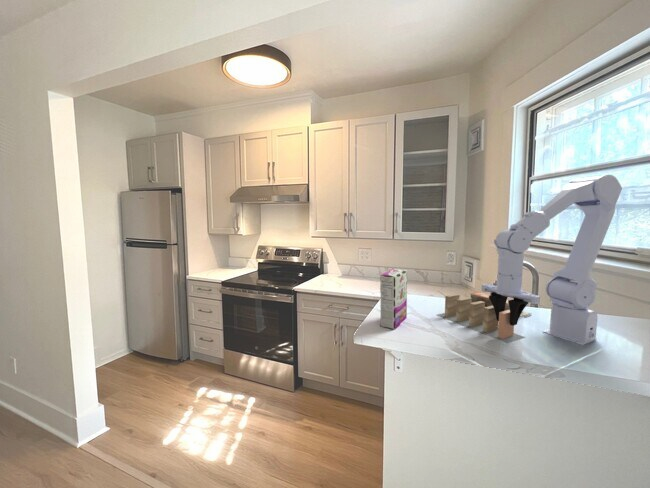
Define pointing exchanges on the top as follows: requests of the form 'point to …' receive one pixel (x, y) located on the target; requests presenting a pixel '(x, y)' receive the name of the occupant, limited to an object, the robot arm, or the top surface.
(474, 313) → the domino
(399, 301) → the candy bar box
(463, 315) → the domino
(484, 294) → the packaged product
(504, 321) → the domino
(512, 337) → the slate mat
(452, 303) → the domino
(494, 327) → the light brown flat block
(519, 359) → the top surface
